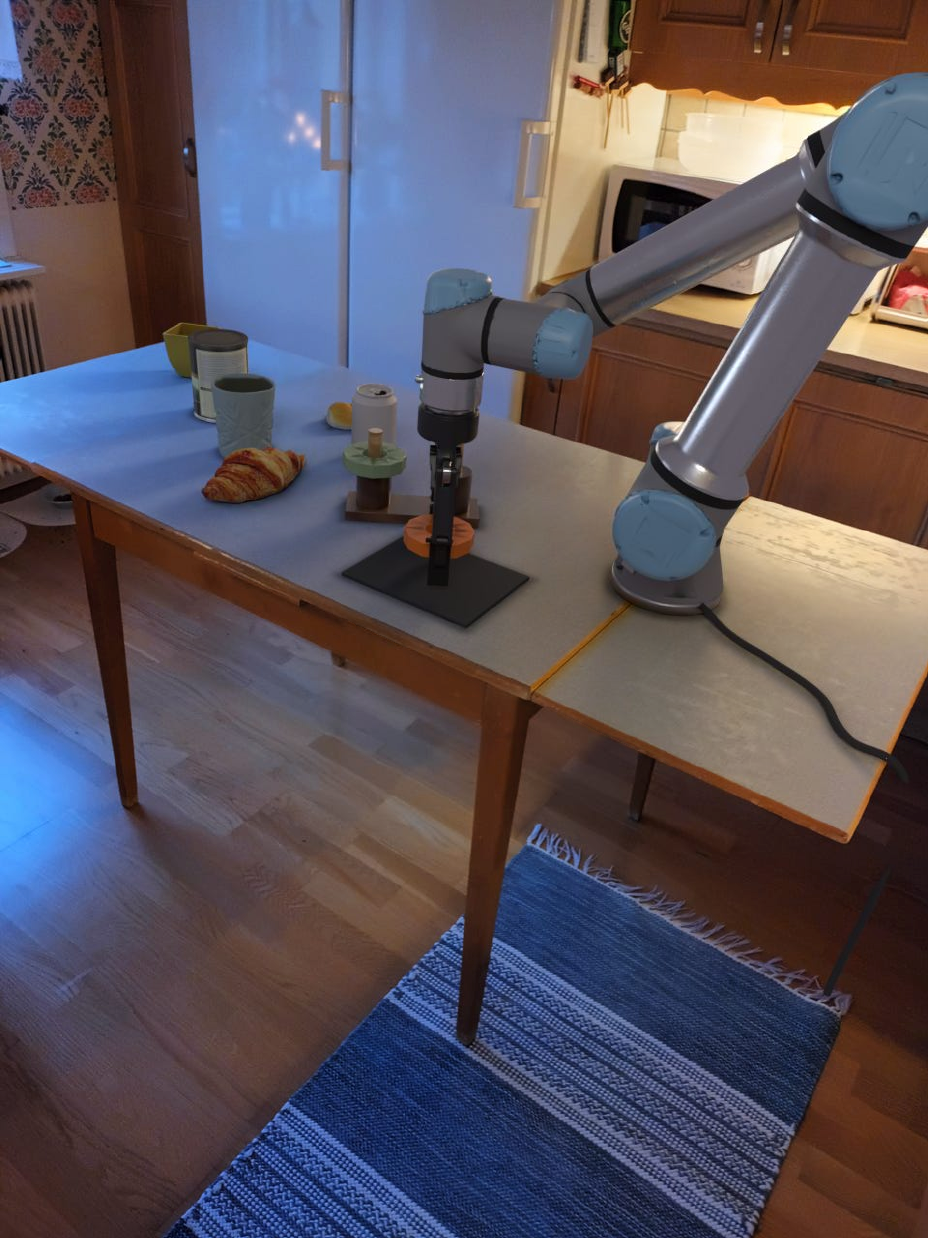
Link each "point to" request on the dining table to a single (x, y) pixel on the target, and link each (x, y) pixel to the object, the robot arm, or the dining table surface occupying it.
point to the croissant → (253, 474)
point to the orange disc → (422, 529)
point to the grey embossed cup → (243, 411)
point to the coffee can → (214, 364)
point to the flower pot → (181, 346)
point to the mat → (459, 602)
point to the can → (373, 412)
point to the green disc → (374, 461)
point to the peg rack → (396, 508)
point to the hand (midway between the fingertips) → (437, 565)
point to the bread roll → (340, 415)
